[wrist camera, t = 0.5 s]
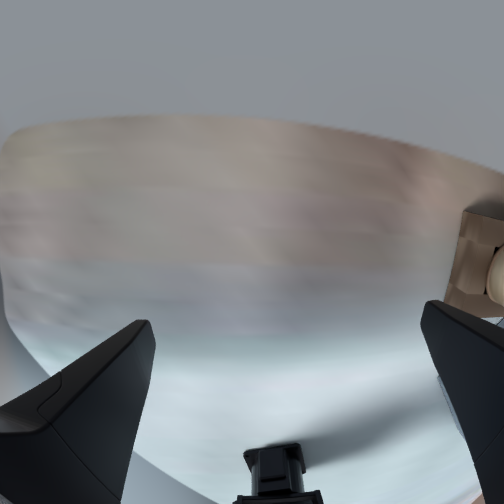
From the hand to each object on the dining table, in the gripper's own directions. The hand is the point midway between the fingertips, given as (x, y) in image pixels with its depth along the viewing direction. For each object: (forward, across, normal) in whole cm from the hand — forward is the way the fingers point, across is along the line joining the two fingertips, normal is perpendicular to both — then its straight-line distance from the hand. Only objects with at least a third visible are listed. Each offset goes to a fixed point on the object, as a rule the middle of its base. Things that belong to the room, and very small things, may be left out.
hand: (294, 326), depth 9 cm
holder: (+14, -21, +6) cm, 26 cm away
